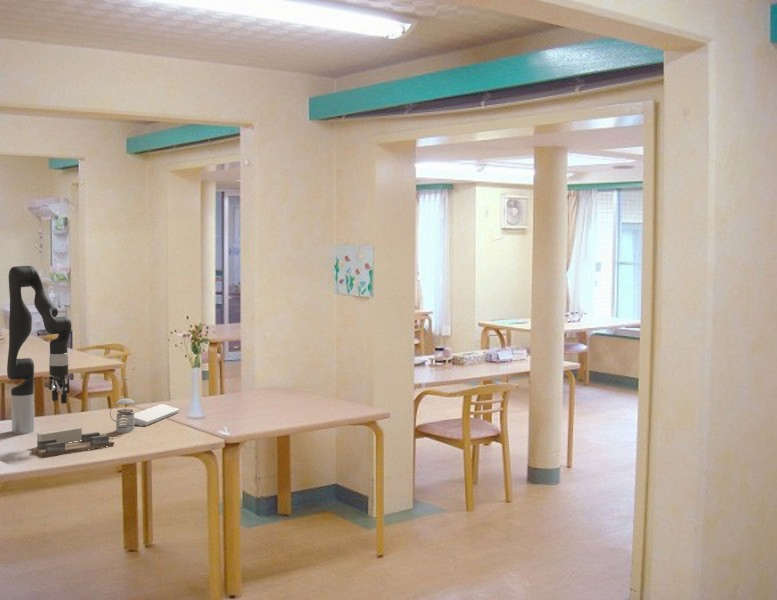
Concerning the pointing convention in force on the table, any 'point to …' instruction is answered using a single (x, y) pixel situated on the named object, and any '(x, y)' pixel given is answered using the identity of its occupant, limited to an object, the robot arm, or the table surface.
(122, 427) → the french press
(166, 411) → the decorative molding
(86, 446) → the dark brown long fixture
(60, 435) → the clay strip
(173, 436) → the table surface
